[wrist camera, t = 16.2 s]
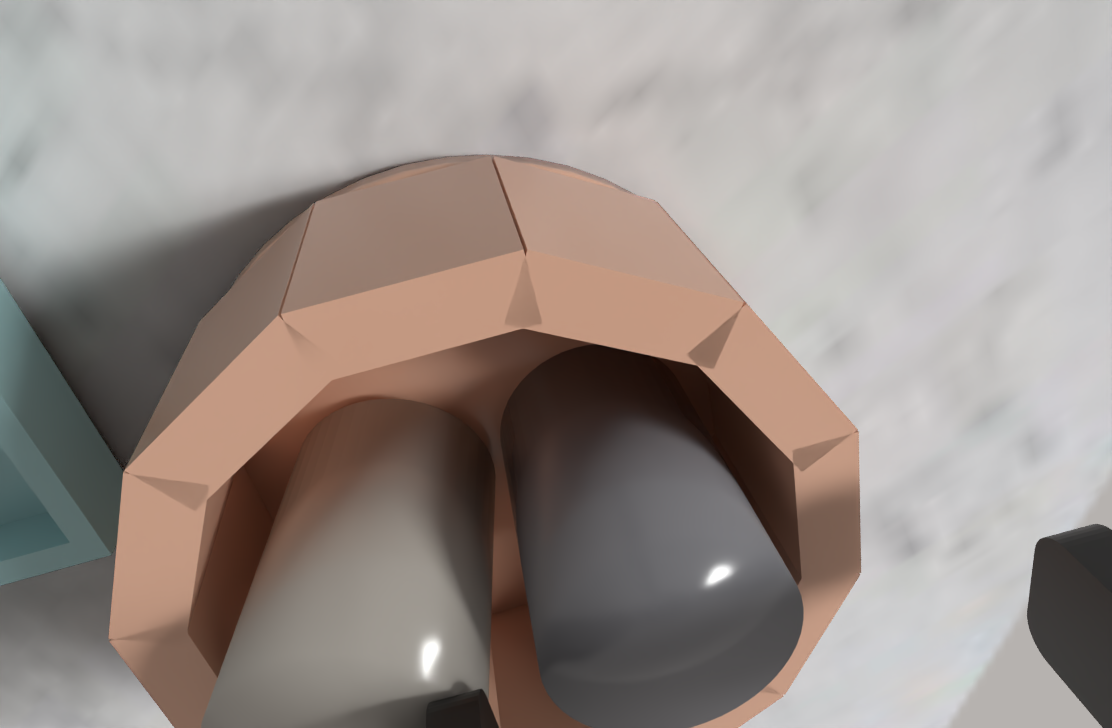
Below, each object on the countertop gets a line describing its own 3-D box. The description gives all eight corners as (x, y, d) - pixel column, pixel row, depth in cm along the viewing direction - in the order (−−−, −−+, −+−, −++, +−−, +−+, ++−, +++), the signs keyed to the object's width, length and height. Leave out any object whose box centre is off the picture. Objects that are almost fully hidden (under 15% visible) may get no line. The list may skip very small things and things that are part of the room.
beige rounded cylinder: (268, 415, 14) (151, 680, 10) (473, 384, 14) (453, 639, 10) (331, 560, 16) (259, 836, 12) (511, 534, 16) (509, 804, 12)
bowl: (84, 248, 13) (-68, 407, 9) (712, 84, 14) (854, 162, 9) (320, 668, 19) (296, 889, 15) (761, 542, 19) (863, 722, 15)
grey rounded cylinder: (477, 374, 15) (508, 587, 10) (673, 320, 15) (795, 506, 10) (525, 523, 17) (570, 762, 12) (698, 475, 17) (810, 692, 12)
